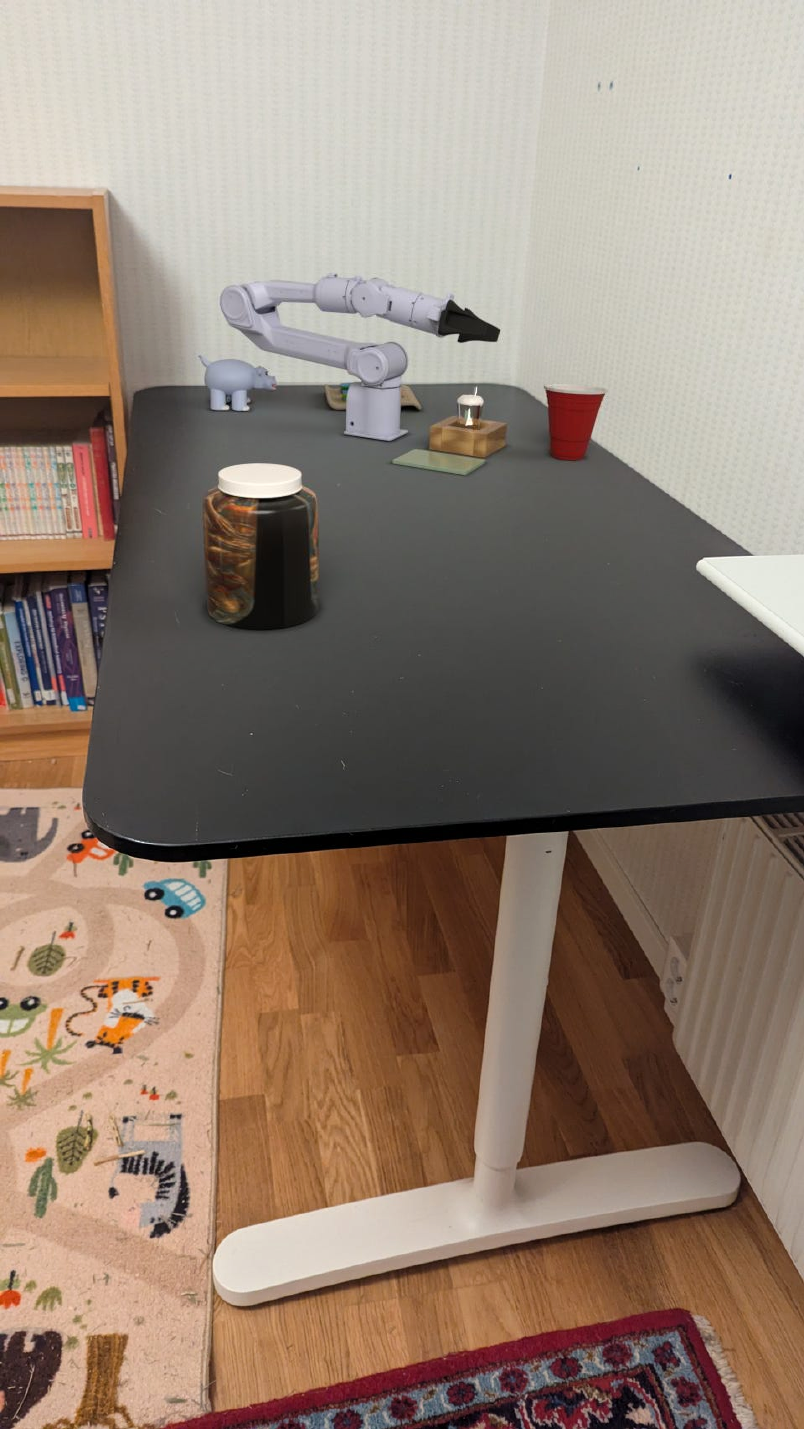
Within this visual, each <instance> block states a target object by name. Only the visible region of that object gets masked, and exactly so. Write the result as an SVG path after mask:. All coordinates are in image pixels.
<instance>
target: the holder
mask: <svg viewBox="0 0 804 1429" xmlns="http://www.w3.org/2000/svg"><path fill="white" fill-rule="evenodd" d="M507 430H508V423H507V422H503V421H502V422H501V421H495V420H487V419H481V420H480V427H479V430H474V429H467V428H460V427H458V415H452V416H449V417H447V418H445V419H443V420H441V421H438V422H437V423H435V424H432V425H430V428H429V444H428V445H429V446H428V449H429V451H437V452H442V453H450V454H451V453H452V454H455V455H462V456H468V457H470V456H471V457H474V458H481V459H482V458H483V459H485V458H487V457H489V456H491V455H493V453H495V452H497V451H498V450H500V449H502V448H504V447H506V440H507Z"/></svg>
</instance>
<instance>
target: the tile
mask: <svg viewBox="0 0 804 1429" xmlns="http://www.w3.org/2000/svg"><path fill="white" fill-rule="evenodd" d="M392 464H394V465H398V466H405V467H412V468H418V469H424V470H431V471H437V472H443V473H448V474H456V475H462V476H467V475H468V474H470V473H472V472H473V471H475V470H477V469H478V468H480V467H482V466H484V465H485V464H486V459H484V458H483V459H482V458H478V457H470V456H465V455H458V454H451V453H450V454H449V453H445V452H439V451H437V452H436V451H432V450H425V449H420V448H419V449H417V448H413V449H412V450H410V451H407V452H405V453H404V454H402V455H400V456H397V457H396V458H394V459H392Z"/></svg>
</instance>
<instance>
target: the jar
mask: <svg viewBox="0 0 804 1429" xmlns="http://www.w3.org/2000/svg"><path fill="white" fill-rule="evenodd" d="M302 478H303V476H302V472H301V471H300V470H299V469H297V468H295V467H292V466H289V465H285V464H278V463H277V464H276V463H262V462H255V463H254V462H253V463H242V464H234V465H231V466H226V467H224V468H222V469H220V470H219V471H218V473H217V480H218V481H217V482H218V484H217V485H216V486H214V487H211V488H210V489H208V490H207V491H206V492H205V494H204V496H203V501H202V524H203V525H202V527H203V529H202V530H203V553H204V573H205V590H206V605H207V607H206V608H207V614H208V615H209V616H210V617H211V618H212V619H213V620H214V621H216V622H218V623H220V624H222V625H226V626H229V627H234V628H238V629H244V630H245V629H246V630H275V629H276V630H277V629H278V630H279V629H283V628H289V627H294V626H296V625H297V626H298V625H300V624H303V623H306V622H307V621H309V620H311V619H312V618H314V617H315V616H316V615H317V613H318V611H319V595H320V594H319V591H320V590H319V588H320V587H319V580H320V578H319V576H320V571H319V570H320V567H319V565H320V564H319V563H320V560H319V559H320V555H319V554H320V550H319V549H320V548H319V546H320V543H319V542H320V540H319V539H320V536H319V535H320V534H319V533H320V532H319V528H320V527H319V505H318V498H317V495H316V493H315V492H314V491H313V490H312V489H310V488H309V487H306V486H304V485H303V483H302V481H303V479H302Z"/></svg>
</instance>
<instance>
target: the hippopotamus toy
mask: <svg viewBox="0 0 804 1429" xmlns="http://www.w3.org/2000/svg"><path fill="white" fill-rule="evenodd" d="M197 357H198V358H199V359H200V361H201V363H202V364H201V365H203V366H204V367H205V368H206V369H205V371H204V377H203V379H204V380H203V382H204V385H205V387H206V389H207V390H209V391H210V398H209V399H210V400H209V401H210V409H211V410H213V411H229V410H230V406H229V405H228V404H227V403H231V410H233V411H236V412H242V411H243V412H248V411H250V406H249V405H248V404H249V403H251V399H250V398H249V397H248V393H250V392H252V391H253V390H254V389H258V390H264V391H266V392H269V393H274V392H276V390H277V387H276V385H277V382H278V381H277V379H276V375H270V374H269V370H268V369H267V368H266V367H265V366H264V367H263V366H261V365H258V367H257V366H256V367H254V365H253V364H252V363H249V362H246V361H245V360H241V359H238V358H237V359H236V358H223V359H219V360H215V361H212V362H211V361H208V360H207V359H206V358H205V357H204V356H203V355H201V354H198V355H197Z"/></svg>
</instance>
